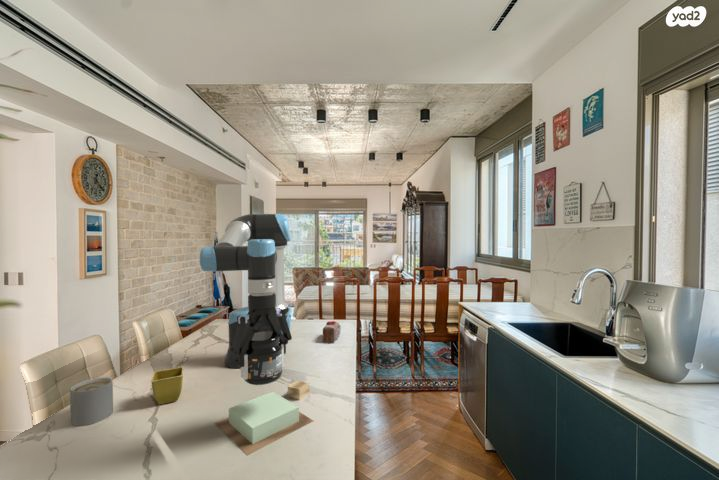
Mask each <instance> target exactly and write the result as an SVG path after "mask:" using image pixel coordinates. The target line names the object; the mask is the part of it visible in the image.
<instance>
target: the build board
mask: <svg viewBox="0 0 719 480" xmlns="http://www.w3.org/2000/svg"><path fill="white" fill-rule="evenodd" d="M313 422H314V420H313V419H311V418H310V417H308V416H307V415H305V414H304V413H302V412H300V411H299V421H298V422H296V423H294V424H292V425H290V426H288V427H286V428H284V429H282V430H280V431H278V432H276V433H274V434H272V435H270V436H268V437H266V438H264V439H262V440H260V441H258V442H256V443H254V444H252V443H251V442H250V441H249V440H248V439H247V438H245V437H244V436H243V435H242V434H241V433H240V432H239V431H238V430H236V429H235V428H234V427H233V426H232V425H231V424H230V423H229V416H228V417H225V418H223V419H220V420H217V421H215V422H214V424H213V425H215V426H216V427H217V428H218V429H219V430H220V431H221V432H222V433H223V434H224V435H225V436H226V437H227V438H229V440H231V441H232V443H234V444H235V446H237V447H238V449H239V450H241V451H242V452H243V453H244V454H245V455H246V456H249V455H251V454H253V453H255V452H257V451H258V450H261V449H263V448H264V447H267V446H269V445H271V444H272V443H274V442H276V441H279V440H280V439H282V438H284V437H287V435H290V434H292V433H294V432H296V431H298V430H299V429H302V428H303V427H305V426H307V425H309V424H311V423H313Z"/></svg>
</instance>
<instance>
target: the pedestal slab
mask: <svg viewBox="0 0 719 480" xmlns="http://www.w3.org/2000/svg"><path fill="white" fill-rule="evenodd" d="M299 412H300V407H299V406H297V405H296V404H294V403H293V402H291V401H290V400H288V399H286V398H285V397H283V396H281V395H280V394H278V393H276V392H275V391H271V392H268V393H265V394H263V395H260V396H257V397H255V398H252V399H250V400H247V401H245V402H242V403H239V404H237V405H235V406H232V407H230V408H228V417H229V423H230V424H231V425H232V426H233V427H234V428H235V429H236V430H238V431H239V432H240V433H241V434H242V435H243V436H244V437H245V438H247V439H248V440H249V441H250V442H251V443H252V444H254V443H256V442H258V441H260V440H262V439H264V438H266V437H268V436H270V435H272V434H274V433H276V432H278V431H280V430H282V429H284V428H286V427H288V426H290V425H292V424H294V423H296V422H298V421H299Z"/></svg>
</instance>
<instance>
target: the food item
mask: <svg viewBox="0 0 719 480" xmlns="http://www.w3.org/2000/svg"><path fill="white" fill-rule="evenodd" d="M341 326H342V325H340V323H339V322H337V321H334V320H332V321H331V320H330V321H327V322H326V324H325V325H324V327H323V328H322V343H324V344H335V342H336V341H338V339H339V337H340V334H341V330H342V329H341V328H342V327H341Z"/></svg>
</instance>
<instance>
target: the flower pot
mask: <svg viewBox="0 0 719 480" xmlns="http://www.w3.org/2000/svg"><path fill="white" fill-rule="evenodd" d="M183 376H184V366H179V367H174V368H173V367H172V368H169V369H162V370H158V371H156V370H155V371H154V372H153V375H152V378H151V381H150V382H151V386H152V387H151V388H152V393H153V397H154V400H155V401H156V402H157V404H158V405H164V404H165V405H166V404H169V403H174V402H176V401H177V402H178V400H179V399H180V396H181V394H182V390H183V389H182V388H183Z"/></svg>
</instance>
